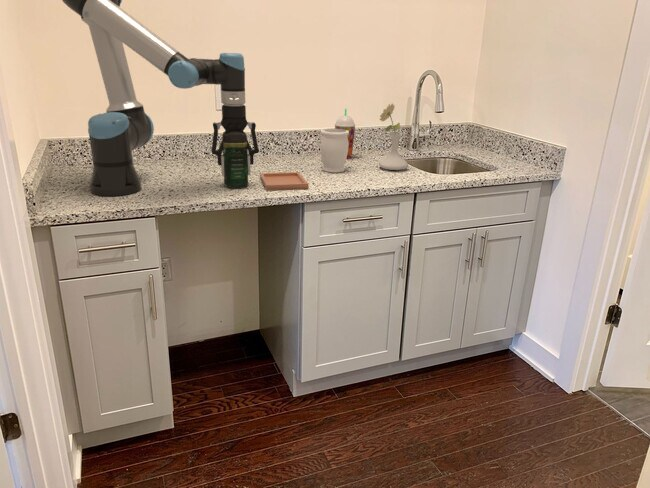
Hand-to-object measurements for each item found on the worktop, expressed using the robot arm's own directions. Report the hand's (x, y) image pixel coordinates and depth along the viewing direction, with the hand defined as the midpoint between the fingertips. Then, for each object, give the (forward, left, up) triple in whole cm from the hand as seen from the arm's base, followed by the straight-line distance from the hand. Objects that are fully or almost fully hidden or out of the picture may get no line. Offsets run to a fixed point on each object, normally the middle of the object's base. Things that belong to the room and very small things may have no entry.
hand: (236, 174), depth 178 cm
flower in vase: (+61, +15, -4) cm, 63 cm away
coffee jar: (0, 0, -4) cm, 4 cm away
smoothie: (+48, +37, -4) cm, 61 cm away
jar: (+38, +16, -4) cm, 41 cm away
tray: (+16, 0, -4) cm, 16 cm away
